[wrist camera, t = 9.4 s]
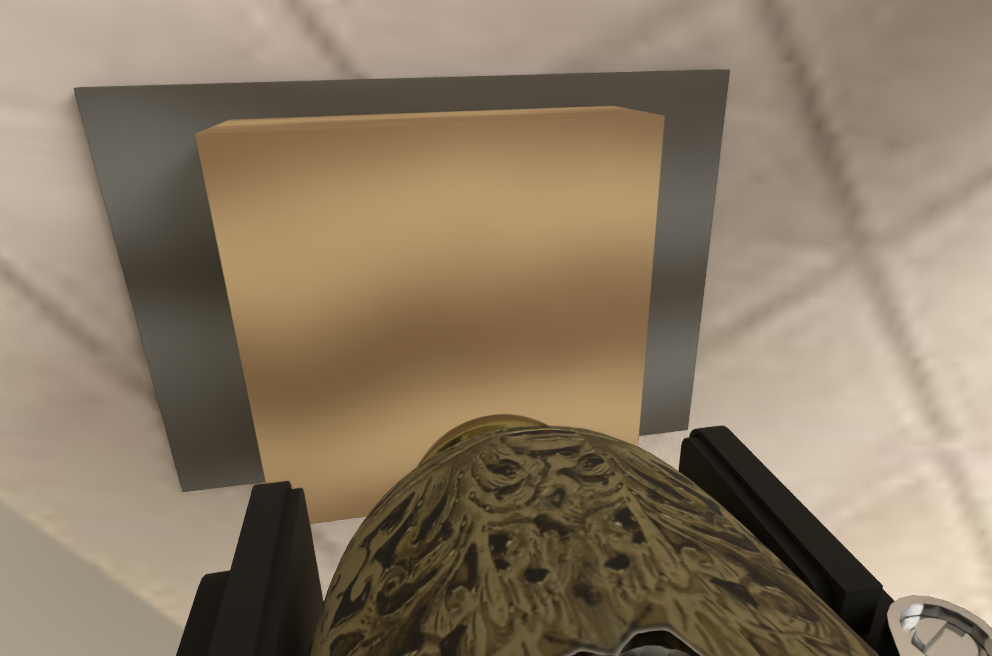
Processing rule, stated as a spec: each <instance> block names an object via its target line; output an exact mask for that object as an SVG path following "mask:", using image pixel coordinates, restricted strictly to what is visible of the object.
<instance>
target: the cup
mask: <svg viewBox="0 0 992 656" xmlns="http://www.w3.org/2000/svg"><path fill="white" fill-rule="evenodd" d="M308 656H879V655H878V654H877V653H876V652H875V651H874V650H873V649H872V648H871V647H870V646H869V645H868V644H867V643H866V642H865V641H864V640H863V639H862V638H861V637H860V636H859V635H858V634H857V633H855V632H854V631H853V630H852V629H851V628H850V627H849V626H848V625H847V624H846V623H845V622H844V621H843V620H842V619H841V618H840V617H839V616H838V615H837V614H836V613H835V612H834V611H833V610H832V609H831V608H830V607H829V606H828V605H827V604H825V603H824V602H823V601H822V600H821V599H820V598H819V597H818V596H817V595H816V594H815V593H814V592H813V591H812V590H811V589H810V588H809V587H808V586H807V585H806V584H805V583H804V582H803V581H802V580H800V579H799V578H798V577H797V576H796V575H795V574H794V573H793V572H792V571H791V570H790V569H789V568H788V567H787V566H786V565H785V564H784V563H783V562H782V561H781V560H780V559H778V558H777V557H776V556H775V555H774V554H773V553H772V552H771V551H770V550H769V549H768V548H767V547H766V546H765V545H764V544H763V543H762V542H761V541H759V540H758V539H757V538H756V537H755V536H754V535H753V534H752V533H751V532H750V531H749V530H748V529H747V528H746V527H745V526H743V525H742V524H741V523H740V522H739V521H738V520H737V519H736V518H735V517H734V516H733V515H732V514H730V513H729V512H728V511H727V510H726V509H725V508H724V507H722V506H721V505H720V504H719V503H718V502H717V501H716V500H715V499H713V498H712V497H711V496H710V495H709V494H707V493H706V492H705V491H704V490H702V489H701V488H700V487H699V486H697V485H696V484H695V483H694V482H692V481H691V480H690V479H689V478H687V477H686V476H684V475H683V474H682V473H680V472H679V471H677V470H676V469H674V468H673V467H672V466H670V465H669V464H667V463H665V462H664V461H662V460H661V459H659V458H657V457H656V456H654V455H653V454H651V453H649V452H647V451H645V450H643V449H641V448H639V447H638V446H636V445H633V444H630V443H628V442H625V441H622V440H620V439H617V438H614V437H612V436H609V435H606V434H603V433H600V432H596V431H592V430H588V429H583V428H576V427H568V426H550V425H548V424H546V423H544V422H541V421H539V420H536V419H533V418H530V417H526V416H521V415H514V414H495V415H488V416H483V417H479V418H475V419H472V420H470V421H467V422H464V423H462V424H460V425H458V426H456V427H454V428H453V429H451V430H450V431H448V432H447V433H445V434H444V435H443V436H441V437H440V438H439V439H438V440H437V441H436V442H435V443H434V444H433V445H432V446H431V447H430V448H429V449H428V450H427V452H426V453H425V454H424V456H423V457H422V458H421V460H420V461H419V463H418V465H417V466H416V468H415V469H414V470H413V471H411V472H410V473H409V474H407V475H406V476H405V477H403V478H402V479H401V480H400V481H399V482H397V483H396V484H395V485H394V486H393V487H392V488H391V489H390V490H389V491H388V492H387V493H386V494H385V495H384V496H383V497H382V498H381V500H380V501H379V502H378V503H377V504H376V505H375V506H374V508H373V509H372V510H371V512H370V513H369V514H368V516H367V517H366V519H365V520H364V521H363V523H362V524H361V526H360V527H359V529H358V530H357V532H356V533H355V535H354V536H353V537H352V539H351V540H350V542H349V544H348V546H347V548H346V550H345V552H344V554H343V556H342V558H341V560H340V562H339V565H338V567H337V569H336V571H335V574H334V576H333V578H332V581H331V583H330V586H329V589H328V591H327V594H326V597H325V600H324V603H323V606H322V609H321V612H320V615H319V618H318V621H317V624H316V627H315V630H314V634H313V637H312V641H311V645H310V649H309V652H308Z"/></svg>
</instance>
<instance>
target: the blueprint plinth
mask: <svg viewBox="0 0 992 656" xmlns="http://www.w3.org/2000/svg"><path fill="white" fill-rule="evenodd" d="M729 73H730V70H688V71H652V72H615V73H579V74H543V75H507V76H471V77H434V78H398V79H362V80H326V81H289V82H253V83H217V84H181V85H144V86H108V87H78V88H74V91H75V95H76V99H77V102H78V106H79V110H80V113H81V117H82V121H83V125H84V128H85V132H86V136H87V139H88V143H89V147H90V151H91V154H92V158H93V162H94V165H95V169H96V173H97V177H98V180H99V184H100V188H101V191H102V195H103V199H104V202H105V206H106V210H107V214H108V217H109V221H110V225H111V228H112V232H113V236H114V240H115V243H116V247H117V251H118V254H119V258H120V262H121V266H122V269H123V273H124V277H125V280H126V284H127V288H128V292H129V295H130V299H131V303H132V306H133V310H134V314H135V318H136V321H137V325H138V329H139V332H140V336H141V340H142V344H143V347H144V351H145V355H146V358H147V362H148V366H149V369H150V373H151V377H152V381H153V384H154V388H155V392H156V395H157V399H158V403H159V407H160V410H161V414H162V418H163V421H164V425H165V429H166V433H167V436H168V440H169V444H170V447H171V451H172V455H173V459H174V462H175V466H176V470H177V473H178V477H179V481H180V485H181V488H182V492H188V491H196V490H204V489H212V488H220V487H228V486H236V485H244V484H253V483H261V482H266V483H274V482H281V481H290V483H291V486H292V489H295V488H303V490H304V494H305V499H306V505H307V511H308V516H309V522H310V524H314V523H321V522H328V521H336V520H343V519H351V518H358V517H365V516H368V514H369V513H370V512H371V510H372V509H373V508H374V506H375V505H376V504H377V503H378V502H379V501H380V500H381V498H382V497H383V496H384V495H385V494H386V493H387V492H388V491H389V490H390V489H391V488H392V487H393V486H394V485H395V484H396V483H397V482H399V481H400V480H401V479H402V478H403V477H405V476H406V475H407V474H409V473H410V472H411V471H413V470H414V469H415V468H416V466H417V465H418V463H419V461H420V460H421V458H422V457H423V456H424V454H425V453H426V452H427V450H428V449H429V448H430V447H431V446H432V445H433V444H434V443H435V442H436V441H437V440H438V439H439V438H440V437H441V436H443V435H444V434H445V433H447V432H448V431H450V430H451V429H453V428H454V427H456V426H458V425H460V424H462V423H464V422H467V421H470V420H472V419H475V418H479V417H483V416H488V415H495V414H514V415H521V416H526V417H530V418H533V419H536V420H539V421H541V422H544V423H546V424H548V425H550V426H568V427H576V428H583V429H588V430H592V431H596V432H600V433H603V434H606V435H609V436H612V437H614V438H617V439H620V440H622V441H625V442H628V443H630V444H633V445H636V446H638V439H639V436H642V435H650V434H658V433H666V432H674V431H682V430H688V423H689V414H690V406H691V397H692V389H693V380H694V372H695V363H696V355H697V346H698V338H699V329H700V321H701V312H702V303H703V295H704V286H705V278H706V269H707V261H708V252H709V244H710V235H711V227H712V218H713V210H714V201H715V193H716V184H717V176H718V167H719V158H720V150H721V141H722V133H723V124H724V116H725V107H726V99H727V90H728V82H729Z"/></svg>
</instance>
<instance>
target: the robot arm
mask: <svg viewBox="0 0 992 656" xmlns="http://www.w3.org/2000/svg"><path fill="white" fill-rule="evenodd" d="M679 472H680V473H682V474H683V475H684V476H686V477H687V478H689V479H690V480H691V481H692V482H694V483H695V484H696V485H697V486H699V487H700V488H701V489H702V490H704V491H705V492H706V493H707V494H709V495H710V496H711V497H712V498H713V499H715V500H716V501H717V502H718V503H719V504H720V505H721V506H722V507H724V508H725V509H726V510H727V511H728V512H729V513H730V514H732V515H733V516H734V517H735V518H736V519H737V520H738V521H739V522H740V523H741V524H742V525H743V526H745V527H746V528H747V529H748V530H749V531H750V532H751V533H752V534H753V535H754V536H755V537H756V538H757V539H758V540H759V541H761V542H762V543H763V544H764V545H765V546H766V547H767V548H768V549H769V550H770V551H771V552H772V553H773V554H774V555H775V556H776V557H777V558H778V559H780V560H781V561H782V562H783V563H784V564H785V565H786V566H787V567H788V568H789V569H790V570H791V571H792V572H793V573H794V574H795V575H796V576H797V577H798V578H799V579H800V580H802V581H803V582H804V583H805V584H806V585H807V586H808V587H809V588H810V589H811V590H812V591H813V592H814V593H815V594H816V595H817V596H818V597H819V598H820V599H821V600H822V601H823V602H824V603H825V604H827V605H828V606H829V607H830V608H831V609H832V610H833V611H834V612H835V613H836V614H837V615H838V616H839V617H840V618H841V619H842V620H843V621H844V622H845V623H846V624H847V625H848V626H849V627H850V628H851V629H852V630H853V631H854V632H855V633H857V634H858V635H859V636H860V637H861V638H862V639H863V640H864V641H865V642H866V643H867V644H868V645H869V646H870V647H871V648H872V649H873V650H874V651H875V652H876V653H877V654H878V655H879V656H992V628H991V627H990V626H989V625H988V624H987V623H986V622H985V621H983V620H982V619H981V618H979V617H977V616H976V615H974V614H973V613H971V612H969V611H968V610H966V609H964V608H962V607H960V606H957V605H955V604H953V603H950V602H948V601H945V600H941V599H937V598H933V597H930V596H916V595H912V596H907V597H902V598H899V599H898V600H896V601H894V600H893V599H892V598H891V597H890V596H889V595H888V594H887V593H886V592H885V591H884V590H883V589H882V587H883V585H882V584H881V583H880V582H879V581H878V580H877V579H876V578H875V577H874V576H873V575H872V574H871V573H870V572H869V571H868V570H867V569H866V568H865V567H864V566H863V565H862V564H861V563H860V562H859V561H858V560H857V559H856V558H855V557H854V556H853V555H852V554H851V553H850V552H849V551H848V550H847V549H846V548H845V547H844V546H843V545H842V544H841V543H840V542H839V541H838V540H837V539H836V538H835V536H834V535H833V534H832V533H831V532H830V531H829V530H828V529H827V528H826V527H825V526H824V525H823V524H822V523H821V522H820V521H819V520H818V519H817V518H816V517H815V516H814V515H813V514H812V513H811V512H810V511H809V510H808V509H807V508H806V507H805V506H804V505H803V504H802V503H801V502H800V501H799V500H798V499H797V498H796V497H795V496H794V495H793V494H792V493H791V492H790V491H789V490H788V489H787V488H786V487H785V486H784V485H783V484H782V483H781V482H780V481H779V480H778V479H777V478H776V477H775V476H774V475H773V474H772V473H771V471H770V470H769V469H768V468H767V467H766V466H765V465H764V464H763V463H762V462H761V461H760V460H759V459H758V458H757V457H756V456H755V455H754V454H753V453H752V452H751V451H750V450H749V449H748V448H747V447H746V446H745V445H744V444H743V443H742V442H741V441H740V440H739V439H738V438H737V437H736V436H735V435H734V434H733V433H732V432H731V431H730V430H729V429H728V428H727V427H725V426H714V427H706V428H698V429H694V430H692V431H691V433H690V436H689V438H685V439H684V440H683V441H682V445H681V454H680V463H679ZM323 603H324V602H323V597H322V591H321V585H320V579H319V574H318V568H317V562H316V556H315V551H314V545H313V539H312V534H311V528H310V522H309V516H308V511H307V505H306V499H305V494H304V490H303V488H295V489H292V486H291V483H290V481H281V482H274V483H266V484H258V485H255V486H253V489H252V492H251V496H250V499H249V503H248V507H247V511H246V514H245V518H244V522H243V525H242V529H241V533H240V536H239V540H238V544H237V547H236V551H235V555H234V558H233V562H232V566H231V569H230V571H224V572H217V573H211V574H206V575H205V576H204V577H203V578H202V579H201V582H200V584H199V586H198V589H197V592H196V596H195V599H194V602H193V605H192V608H191V611H190V614H189V617H188V620H187V623H186V626H185V629H184V633H183V636H182V639H181V642H180V645H179V648H178V651H177V654H176V656H308V652H309V649H310V645H311V641H312V637H313V634H314V630H315V627H316V624H317V621H318V618H319V615H320V612H321V609H322V606H323Z"/></svg>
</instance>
